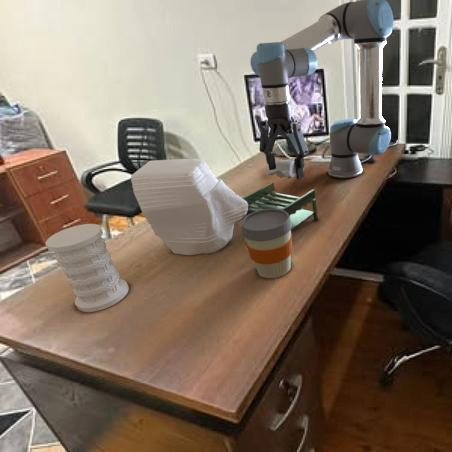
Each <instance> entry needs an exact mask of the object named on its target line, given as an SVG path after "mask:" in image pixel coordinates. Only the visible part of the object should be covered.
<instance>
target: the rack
mask: <svg viewBox="0 0 452 452" xmlns="http://www.w3.org/2000/svg"><path fill="white" fill-rule="evenodd" d="M244 196H245V197H243V198H242V199H244V200H245V201H246V202H247V203H248V210H253V211H259V210H264V209H262V208H267V209H280V210H284V211H286V212H287V213H288V214H289V217H290V220H291V224H292V228H291V232H292V231H294V230H295V229H296V228H298V227H299V226H300V225H302V224H303V223H305V221H307V220H309V219H310V218H312V217H313V221H314V222H317V221H318V220H319V217H318V216H319V215H318V207H317V199H316V189H311V190H309V191H308V192H306V193H305V194H303V195H302V196H295V195H290V194H285V193H280V192H276V189H275V182H273V181H272V182H269V183H268V184H266V185H264V186H262V187H260V188H259V189H257V190H254V191H253V192H251V193H249V194H247V195H244ZM263 197H264V198H265V199H261V198H263ZM266 199H270V200H266ZM257 200H258V202H262V203H266V204H262V203H257V202H255V201H257ZM271 200H272V201H271ZM250 204H252V205H253V206H258V207H262V208H257V207H253V206H249V205H250ZM267 204H271V205H273V206H271V205H267ZM308 204H311V206H312V210H308V209H303V207H304V208H305V207H307V206H308ZM245 216H247V214H246V215H245ZM245 216H244V217H245ZM244 217H243V218H244ZM243 218H242V219H243Z"/></svg>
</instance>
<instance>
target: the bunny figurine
mask: <svg viewBox="0 0 452 452" xmlns="http://www.w3.org/2000/svg"><path fill="white" fill-rule="evenodd" d="M304 171H305V167H304V168H303V172H304ZM274 173H275V174H274ZM272 174H273V175H276V176H277V177H278V178H280V179H283V178H287V179H291V178H293V177H295V176H296V168H295V160H294V159H288V158H287V159H285V160H278V161H277V162H276V169H274V170H269V169H268V170H266V172H265V175H266V176H273V175H272Z"/></svg>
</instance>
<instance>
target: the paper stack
mask: <svg viewBox="0 0 452 452" xmlns="http://www.w3.org/2000/svg"><path fill="white" fill-rule="evenodd" d="M130 178H131V179H130V182H131V184H132V185H131V187H132V192H133V195H134V197H135V199H136V201H137V203H138V205H139V209H140V211H141V212H142V216H143V217H144V218H145V221H147V223H148V224H149V226H150V227H151V229H152V231H153V233H154V235H156V236H157V237H159V238H160V239H161V241H163V243H164V244H165V245H167V247H168V248H169V249H170V251H171V252H172V253H173V254H175V255H185V256H195V255H200V254H214V253H216V252H218V251H219V250H221V249H224V248H225V247H226V246H227V245H228V243H229V242H231V240H232V239H233V235H234V229H235V227H234V226H235V224H236V223H238V222H240V221H242V219H243V217H244V216H245V215H246V214H247V211H248V203H247V202H246V201H245V200H244V199H242V198H241V197H239V196H240V195H238V194H237V193H235V191H234V190H232V189H231V188H230V187H229V186H228V185H227V184H226V183H224V181H223V180H222V178H220V177H216V176H215V174H214V173H213V172H212V171H211V169H210V168H209V166H208V164H207V163H206V162H205V160H202V159H197V158H176V159H175V158H174V159H157V160H155V159H154V160H149V161H148V162H147V163H145V164H144V165H143V166H141V167H140V168H139V169H138V170H136V171H135V172H133V174H132V175H131V177H130Z"/></svg>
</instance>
